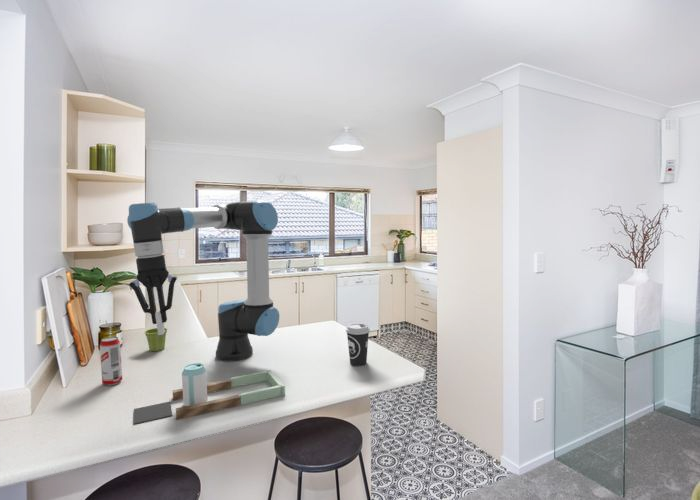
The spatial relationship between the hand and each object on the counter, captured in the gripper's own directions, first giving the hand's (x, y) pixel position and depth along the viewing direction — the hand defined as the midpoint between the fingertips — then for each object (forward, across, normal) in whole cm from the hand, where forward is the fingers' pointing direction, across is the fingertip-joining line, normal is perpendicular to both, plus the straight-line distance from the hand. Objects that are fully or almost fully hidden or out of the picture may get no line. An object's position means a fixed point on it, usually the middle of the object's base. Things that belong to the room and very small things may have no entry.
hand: (161, 333), depth 118 cm
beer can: (+23, -23, +27) cm, 42 cm away
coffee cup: (+30, +66, +16) cm, 74 cm away
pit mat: (+23, -5, -2) cm, 24 cm away
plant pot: (+24, -14, +63) cm, 69 cm away
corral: (+26, +25, +3) cm, 36 cm away
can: (+24, +7, 0) cm, 25 cm away
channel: (+24, +10, 0) cm, 26 cm away
